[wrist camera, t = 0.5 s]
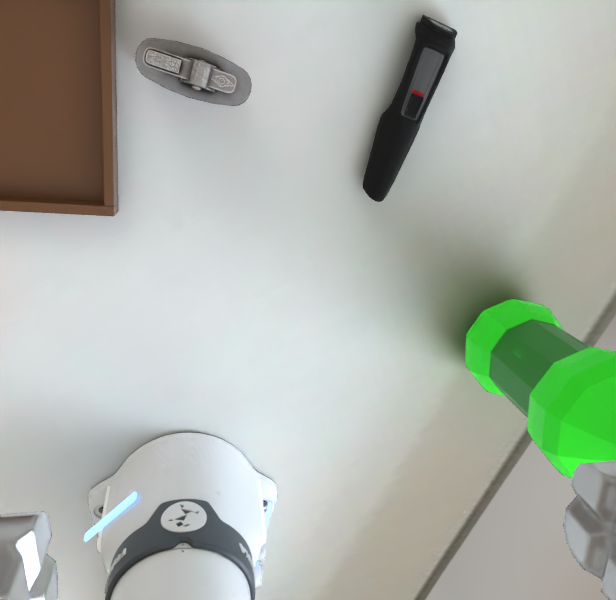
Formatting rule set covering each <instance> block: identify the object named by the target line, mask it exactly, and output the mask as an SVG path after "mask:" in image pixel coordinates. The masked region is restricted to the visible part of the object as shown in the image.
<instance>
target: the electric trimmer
mask: <svg viewBox="0 0 616 600" xmlns="http://www.w3.org/2000/svg"><path fill="white" fill-rule="evenodd" d="M415 34H416V40H415V44H414V47H413V50H412V53H411V56H410V59H409V62H408V65H407V67H406V70H405V73H404V76H403V78H402V81H401V83H400V86H399V88H398V90H397V92H396V95H395V97H394V99H393V101H392V103H391V104H390V106H389V107H388V109H387V110H386V111H385V112H384V113H383V114H382V116H381V118H380V121H379V124H378V128H377V131H376V135H375V139H374V142H373V146H372V150H371V153H370V157H369V161H368V164H367V168H366V172H365V175H364V180H363V189H364V190H365V192H366V193H367V195H368V196H369V197H370V198H371V199H373V200H375V201H377V202H381V201H383V200H384V198H385V197H386V196H387V194H388V192H389V190H390V188H391V186H392V184H393V183H394V181H395V178H396V176H397V174H398V172H399V170H400V168H401V166H402V164H403V162H404V160H405V158H406V156H407V154H408V152H409V150H410V147H411V145H412V143H413V141H414V139H415V137H416V135H417V132H418V130H419V127H420V124H421V122H422V119H423V117H424V114H425V112H426V109H427V107H428V105H429V103H430V101H431V99H432V97H433V94H434V92H435V90H436V88H437V86H438V84H439V82H440V79H441V77H442V75H443V73H444V71H445V68H446V66H447V64H448V61H449V59H450V57H451V55H452V53H453V51H454V49H455V38H456V35H457V31H456V30H454V29H452V28H450V27H448V26H446V25H444V24H442V23H440V22H438V21H436V20H434V19H431V18H429V17H427V16H425V15H423V16H422V18H421V21H419V22H417V23H416V27H415Z"/></svg>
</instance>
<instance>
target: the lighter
mask: <svg viewBox="0 0 616 600" xmlns="http://www.w3.org/2000/svg"><path fill="white" fill-rule="evenodd" d="M135 60H136V65H137V68H138V70H139V71H140V73H141V74H142V75H144V76H145V77H146V78H148V79H150V80H152V81H154V82H155V83H157V84H159V85H161V86H163V87H165V88H166V89H169V90H171V91H174V92H176V93H179V94H181V95H184V96H186V97H189V98H192V99H196V100H200V101H204V102H208V103H213V104H222V105H230V106H238V105H240V104H242V103H244V102H245V101H246V100H247V99H248V97H249V95H250V92H251V86H252V85H251V79H250V77H249V75H248V73H247V72H246V71H245V70H244V69H242V68H241V67H239V66H237V65H235V64H234V63H232V62H230V61H229V60H227V59H225V58H223V57H221V56H219V55H216V54H214V53H212V52H210V51H207V50H205V49H203V48H200V47H196V46H192V45H189V44H185V43H181V42H178V41H171V40H164V39H157V38H149V39H146V40H145V41H143V42H142V43H141V44H140V45H139V46H138V49H137V52H136V59H135Z"/></svg>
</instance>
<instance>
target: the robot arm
mask: <svg viewBox="0 0 616 600" xmlns="http://www.w3.org/2000/svg"><path fill="white" fill-rule="evenodd" d="M571 486H572V488H573V490H574V491H575V493H576V495H577V496H576V497H575V498H574V500H573V501H572V502H571V503H570V504H569V505H568V506H567V508H566V512H565V518H564V524H563V526H564V531H565V537H566V541H567V544H568V547H569V549H570V551H571V553H572V555H573V556H574V558H575V559H576V560H577V562H578V563H579V564H580V566H581V567H582V568H583V569H584V570H586V571H588V572H590V573H592V574H593V575H595V576H597V577H599V578H600V579H601V592H602V593H603V594H604V595H605V597H606V598H607V599H608V600H616V460H611V461H601V462H591V463H580V464H579V465H578V467H577V468H576V469H575V471H574V473H573V477H572V482H571ZM277 495H278V493H277V485H276V484H275V483H274V482H273V481H272V480H271V479H269V478H268V477H266V476H264V475H262V474H260V473H258V472H257V471H256V470H255V469H254V468H253V467H252V466H251V464H250V463H249V461H248V460H247V459H246V457H245V456H244V455H243V454H242V453H241V452H240V451H239V450H238V449H237V448H235V447H234V446H233V445H231V444H229V443H228V442H226V441H224V440H222V439H220V438H217V437H214V436H211V435H206V434H201V433H176V434H171V435H166V436H163V437H160V438H157V439H155V440H152V441H150V442H148V443H146V444H145V445H143V446H141V447H140V448H138V449H137V450H136V451H135V452H133V453H132V454H131V455H130V456H129V457H128V458H127V459H126V460H125V462H124V463H123V464H122V466H121V467H120V468H119V469H118V471H117V472H116V473H115V474H114V475H113V476H112V477H110V478H108V479H106V480H104V481H103V482H101V483H99V484H98V485H96V486H95V487H93V488H92V489H91V491H90V492H89V497H88V505H89V508H90V512H91V515H92V519H93V522H94V526H93V527H92V528H91V529H90V530H89V531H87V532H86V533H85V537H84V541H85V542H87V541H88V540H89V539H90V538H92V537H93V536H94V535H95V534H96V533H97V536H98V542H97V551H98V552H99V553H101V554H102V559H103V563H104V566H105V568H106V571H107V574H108V576H107V581H106V587H105V593H106V597H105V600H254V599H255V589H257V588H260V585H261V581H262V565H261V564H259V563H258V561H259V562H261V561H264V559H265V554H266V549H265V547H264V546H262V545H263V544H264V543H265V542H266V531H267V528H268V525H269V522H270V518H271V515H272V512H273V509H274V506H275V502H276V499H277ZM263 500H266V502H264V503H263ZM100 507H103V509H102V508H100ZM51 536H52V534H51V529H50V524H49V518H48V515H47V514H46V513H45V512H44V511H42V512H28V513H13V514H0V600H57V596H58V575H57V568H56V561H55V560H54V559H52V558H51V557H50V556H49V555H48V554H47V553H46V551H47V548H48V545H49V542H50V539H51Z"/></svg>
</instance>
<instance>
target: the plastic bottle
mask: <svg viewBox="0 0 616 600" xmlns="http://www.w3.org/2000/svg"><path fill="white" fill-rule="evenodd" d="M465 363H466V367H467V368H468V369H469V371H470V372H471V373H472V374H473V376H474V377H475V378H476V379H477V381H478V382H479V383H480V384H481V386H482V387H483V388H484V389H485V390H486V391H487V392H490V393H494V394H499V395H505V396H506V397H507V398H508V399H509V400H510V401H511V402H512V403H513V404H514V405H515V406H516V407H517V408H518V409H519V410H520V411H521V412H522V413H523V414H524V415H525V416H526V417H527V418H528V422H527V430H528V432H529V434H530V436H531V438H532V439H533V441H534V442H535V443H536V444H537V446H538V447H539V448H540V449H541V451H542V452H543V453H544V455H545V456H546V457H547V458H548V460H549V461H550V462H551V464H552V465H553V466H554V467H555V468H556V469H557V470H558V471H559V472H560V473H561V474H562V475H564V476H567V477H569V478H572V477H573V473H574V471H575V469H576V468H577V467H578V465H579V464H580V463H591V462H601V461H611V460H616V352H615V351H610V350H605V349H600V348H595V347H589V346H587V345H585V344H584V343H582V342H581V341H579V340H578V339H576V338H574V337H573V336H571V335H570V334H568V333H567V332H565V331H564V330H563V329H562V327H561V326H560V324H559V323H558V321H557V320H556V318H555V317H554V316H553V314H552V313H551V311H550V310H549V309H548V308H547V307H545V306H543V305H540V304H536V303H531V302H527V301H522V300H517V299H509V300H506V301H504V302H502V303H499V304H497V305H495V306H492V307H490V308H488V309H485V310H483V311H482V312H481V314H480V315H479V317H478V318H477V319H476V321H475V322H474V324H473V325H472V326H471V328H470V329H469V330H468V332H467V333H466V348H465Z"/></svg>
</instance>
